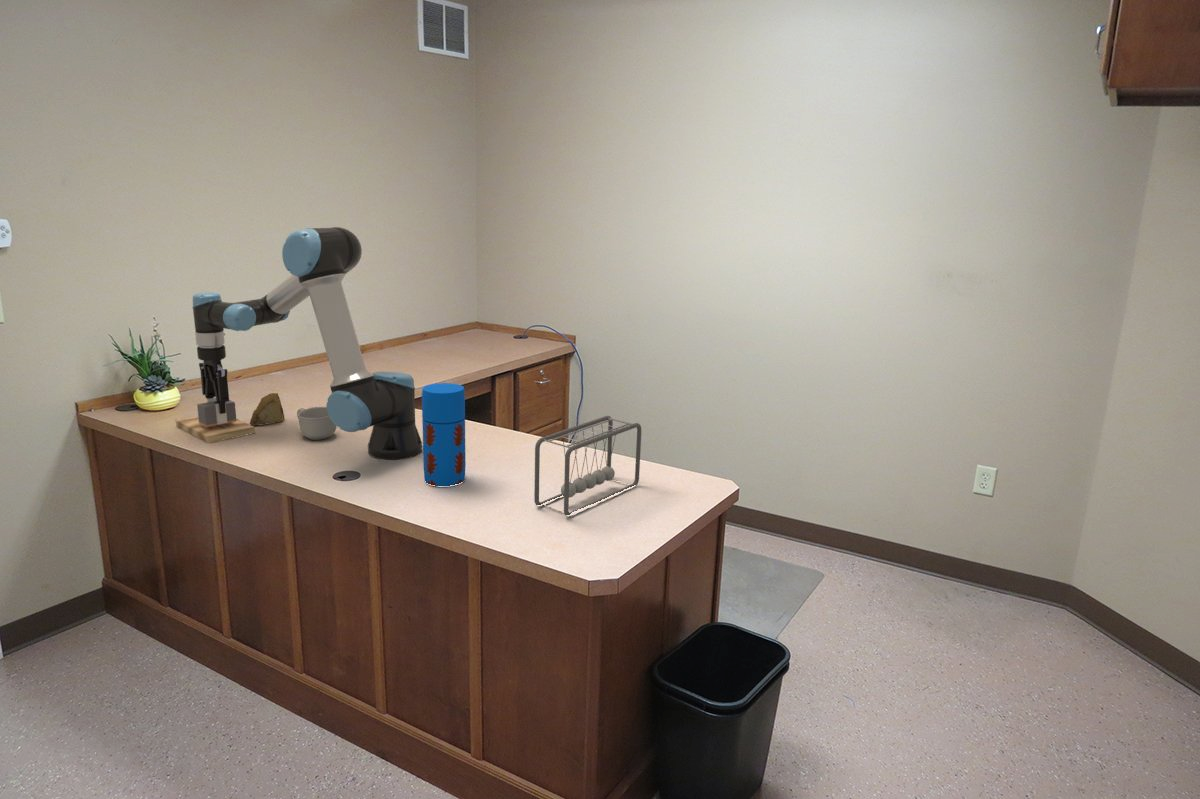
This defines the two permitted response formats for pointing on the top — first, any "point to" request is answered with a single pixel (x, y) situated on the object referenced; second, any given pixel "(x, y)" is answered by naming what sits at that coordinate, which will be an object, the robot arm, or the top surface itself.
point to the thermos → (443, 433)
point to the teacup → (315, 423)
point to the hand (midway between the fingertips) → (217, 421)
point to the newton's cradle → (598, 475)
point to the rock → (268, 410)
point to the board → (214, 429)
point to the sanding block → (209, 413)
